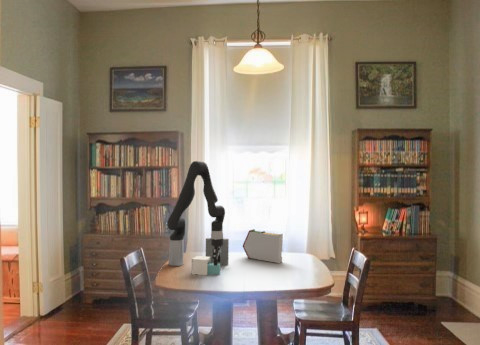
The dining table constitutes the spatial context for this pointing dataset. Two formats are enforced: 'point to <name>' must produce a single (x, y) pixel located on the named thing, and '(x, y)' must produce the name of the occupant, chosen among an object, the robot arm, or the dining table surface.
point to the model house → (263, 246)
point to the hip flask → (223, 250)
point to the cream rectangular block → (200, 265)
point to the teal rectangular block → (213, 268)
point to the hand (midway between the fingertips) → (217, 263)
